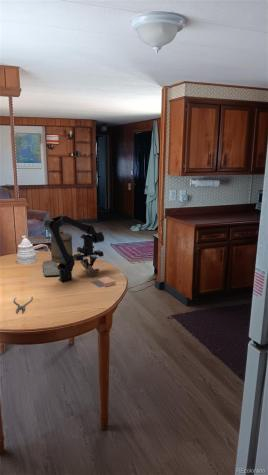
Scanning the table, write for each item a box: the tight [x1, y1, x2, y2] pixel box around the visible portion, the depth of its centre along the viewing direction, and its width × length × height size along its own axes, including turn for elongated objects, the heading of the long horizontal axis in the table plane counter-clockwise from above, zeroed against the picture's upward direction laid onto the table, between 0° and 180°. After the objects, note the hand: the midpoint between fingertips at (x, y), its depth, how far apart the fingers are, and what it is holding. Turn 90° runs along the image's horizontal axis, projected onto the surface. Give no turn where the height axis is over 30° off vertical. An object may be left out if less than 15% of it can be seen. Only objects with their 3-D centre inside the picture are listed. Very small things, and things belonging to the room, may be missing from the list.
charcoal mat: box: [90, 279, 105, 288], centre depth 204 cm, size 11×11×1 cm
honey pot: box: [16, 235, 37, 265], centre depth 244 cm, size 13×13×18 cm
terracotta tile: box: [96, 276, 116, 288], centre depth 203 cm, size 7×2×9 cm
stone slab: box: [42, 260, 60, 278], centre depth 228 cm, size 10×3×30 cm
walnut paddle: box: [80, 260, 100, 278], centre depth 219 cm, size 16×6×5 cm, turn 36°
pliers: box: [13, 296, 34, 314], centre depth 175 cm, size 10×1×20 cm
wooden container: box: [50, 229, 74, 264], centre depth 247 cm, size 15×15×22 cm
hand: (88, 268), depth 219 cm, fingers open, 2 cm apart
